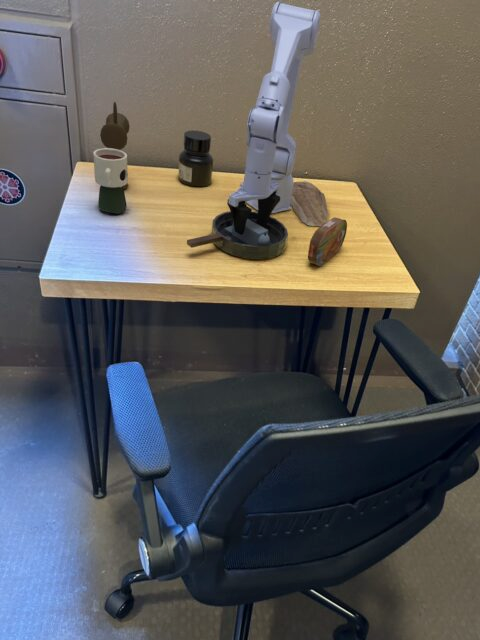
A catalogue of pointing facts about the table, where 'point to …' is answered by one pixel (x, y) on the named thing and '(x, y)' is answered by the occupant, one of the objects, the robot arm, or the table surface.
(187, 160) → the ink bottle
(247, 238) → the grey flat-sided piece
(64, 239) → the table surface
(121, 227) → the table surface
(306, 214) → the fish fossil
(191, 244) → the pan handle
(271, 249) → the pan
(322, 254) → the tin
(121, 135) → the kendama
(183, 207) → the table surface
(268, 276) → the table surface
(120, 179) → the character mug
